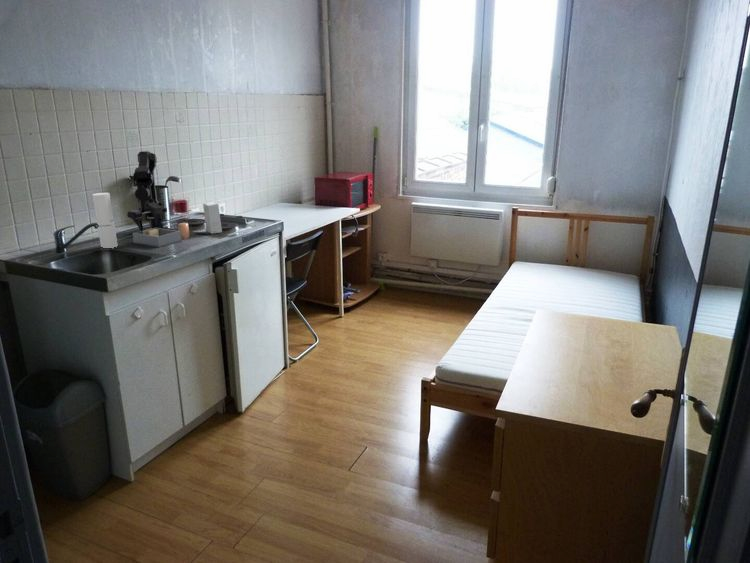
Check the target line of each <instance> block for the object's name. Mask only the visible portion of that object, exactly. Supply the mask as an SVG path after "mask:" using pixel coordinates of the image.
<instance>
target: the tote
mask: <svg viewBox="0 0 750 563" xmlns="http://www.w3.org/2000/svg"><path fill="white" fill-rule="evenodd" d="M152 229H158V234H159V236H151V235H145V234H143V231H141V230H140V231H136V232H133V233H132V241H133V244H136V245H142V246H149V247H152V248H153V247H154V248H163V247H166V246H169V245H173V244H176V243H180V242H182V240H183V239H181V232H180V231H178V230H175V229H168V228H163V229H162V228H152Z"/></svg>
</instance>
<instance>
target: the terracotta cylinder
mask: <svg viewBox="0 0 750 563" xmlns="http://www.w3.org/2000/svg"><path fill="white" fill-rule="evenodd" d="M177 229H178V230H177V231H180V232H181V240H184V239H185V240H186V239H189V238H191V236H190V235H191V234H190V228H189V223H188V222H181V223H180V222H179V223H177Z"/></svg>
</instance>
